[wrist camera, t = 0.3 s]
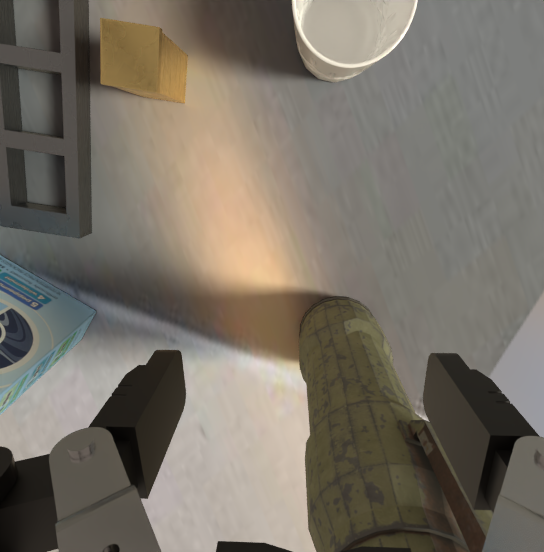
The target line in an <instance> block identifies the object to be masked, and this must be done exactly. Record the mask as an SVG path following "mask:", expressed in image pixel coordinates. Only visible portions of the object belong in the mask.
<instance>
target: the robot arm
mask: <svg viewBox="0 0 544 552" xmlns="http://www.w3.org/2000/svg"><path fill="white" fill-rule="evenodd" d="M185 399H186V389H185V380H184V371H183V362H182V355H181V352H180V351H179V350H156V351H155V352H154V353H153V355H152V357H151V358H150V360H149V361H148V363H147V364H146V365H138V366H137V367H136V368H134V369H133V370H131V371H130V372H129V373H127V374H126V375H125V377H124V378H123V379H122V381H121V382H120V384H119V385H118V388H116V389H115V391H114V392H113V393H112V397H110V398H109V399H108V400H107V402H106V403H105V405H104V406H103V407H102V409H101V410H100V412H99V413H98V414H97V416H96V417H95V419H94V420H93V421H92V423H91V424H90V426H89V427H88V428H84V429H81V430H78V431H75V432H73V433H71V434H69V435H67V436H66V437H64V438H63V439H62V440H60V441H59V442H58V443H57V444H56V445H55V446H54V448H53V449H52V451H51V453H50V454H47V455H43V456H39V457H34V458H30V459H25V460H21V461H16V462H15V461H14V458H13V455H12V452H11V451H10V450H9V449H8V448H5V447H0V552H47V551H51V550H54V549H59V552H161V550H160V547H159V545H158V542H157V539H156V537H155V534H154V532H153V529H152V527H151V524H150V522H149V519H148V517H147V514H146V512H145V509H144V507H143V504H142V501H141V499H140V498H145V499H148V496H149V494H150V491H151V489H152V486H153V484H154V481H155V479H156V477H157V474H158V472H159V469H160V467H161V464H162V462H163V459H164V457H165V454H166V452H167V449H168V447H169V444H170V442H171V439H172V437H173V434H174V432H175V429H176V427H177V424H178V422H179V419H180V417H181V414H182V412H183V409H184V406H185ZM423 404H424V409H425V413H426V415H427V417H428V419H429V421H430V423H431V425H432V427H433V429H434V431H435V433H436V435H437V437H438V439H439V441H440V443H441V445H442V447H443V449H444V451H445V453H446V455H447V457H448V459H449V461H450V463H451V465H452V467H453V469H454V471H455V473H456V475H457V477H458V479H459V481H460V483H461V485H462V487H463V489H464V491H465V493H466V495H467V497H468V499H469V501H470V503H471V505H472V507H473V509H474V510H492V512H493V516H492V520H491V523H490V526H489V530H488V533H487V537H486V540H485V543H484V547H483V550H482V552H544V438H543V437H540V436H539V435H538V434H537V433H536V432H535V430H534V429H533V428H532V427H531V426H530V425H529V423H528V422H527V421H526V420H525V419H524V417H523V416H522V415H521V414H520V413H519V412H518V410H517V409H516V408H515V407H514V406H513V405H512V404H510V401H509V400H508V399H507V397H506V396H505V395H504V394H502V393H501V390H500V389H499V388H498V387H497V386H496V384H495V383H494V382H493V381H492V380H491V379H490V378H488V377H487V376H485V375H483V374H482V373H480V372H479V371H477V370H470V369H469V367H468V366H467V365H466V364H465V362H464V361H463V360H462V359H461V357H460V356H459V355H458V354H456V353H431V354H430V356H429V358H428V364H427V371H426V378H425V385H424V392H423ZM216 552H292V551H289V550H285V549H282V548H279V547H276V546H273V545H269V544H266V543H253V542H225V541H218V544H217V549H216ZM341 552H411V548H394V547H366V546H362V547H358V548H354V549H350V550H346V551H341Z"/></svg>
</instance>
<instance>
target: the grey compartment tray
mask: <svg viewBox="0 0 544 552" xmlns="http://www.w3.org/2000/svg"><path fill="white" fill-rule="evenodd" d="M59 22H60V50H61V53H57V52H50V51H44V50H38V49H31V48H25V47H19V46H16V37H15V23H14V9H13V0H0V226H3V227H10V228H16V229H23V230H29V231H36V232H42V233H49V234H55V235H61V236H68V237H74V238H82V237H84V236H86V235H89V234H91V233H92V216H91V145H90V75H89V4H88V0H59ZM18 68H19V69H26V70H32V71H38V72H45V73H51V74H57V75H61V77H62V104H63V132H64V137H58V136H51V135H45V134H39V133H32V132H26V131H22V121H21V107H20V93H19V79H18ZM24 150H29V151H35V152H42V153H48V154H54V155H61V156H64V159H65V186H66V208H61V207H55V206H48V205H42V204H36V203H29V202H27V191H26V177H25V163H24Z"/></svg>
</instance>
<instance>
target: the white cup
mask: <svg viewBox="0 0 544 552" xmlns="http://www.w3.org/2000/svg"><path fill="white" fill-rule="evenodd" d="M417 1H418V0H292V11H293V21H294V30H295V36H296V42H297V46H298V51H299V53H300V56H301V58H302V60H303V63H304V65H305V67H306V68H307V69H308V70H309V71H310V72H311V73H312V74H313V75H315V76H316V77H317V78H318V79H321V80H325V81H330V82H334V83H336V82H339V81H343V80H346V79H350V78H352V77H354V76H356V75H358V74H360V73H361V72H363V71H364V70H366V69H368V68H369V67H370V66H372V65H373V64H374V63H376V62H377V61H378V60H380V59H381V58H383V57H384V56H386V55H387V54H388V53H389V52H390V51H392V50H393V49H394V48H395V47H396V45H397V44H398V43H399V42H400V41H401V39H402V38H403V36H404V35H405V33H406V32H407V30H408V28H409V26H410V24H411V22H412V19H413V17H414V14H415V10H416V6H417Z"/></svg>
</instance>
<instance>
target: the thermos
mask: <svg viewBox="0 0 544 552" xmlns="http://www.w3.org/2000/svg"><path fill="white" fill-rule="evenodd" d="M299 362H300V370H301V373H302V376H303V379H304V381H305V382H306V383H307V397H308V410H309V424H310V436H309V438H308V440H307V442H306V453H305V467H306V488H307V508H308V528H309V532H310V535H311V537H312V540H313V543H314V546H315V549H316V551H317V552H341V551H346V550H350V549H354V548H358V547H362V546H366V547H394V548H411V552H482V550H483V547H484V543H485V540H486V537H487V533H488V530H489V526H490V523H491V520H492V516H493V512H492V510H474V509H473V507H472V505H471V503H470V501H469V499H468V497H467V495H466V493H465V491H464V489H463V487H462V485H461V483H460V481H459V479H458V477H457V475H456V473H455V471H454V469H453V467H452V465H451V463H450V461H449V459H448V457H447V455H446V453H445V451H444V449H443V447H442V445H441V443H440V441H439V439H438V437H437V435H436V433H435V431H434V429H433V427H432V425H431V423H430V422H428V421H426V420H423V419H422V418H421V417H419V416H418V415H417V414H416V413H415V411H414V409H413V407H412V405H411V403H410V401H409V398H408V396H407V394H406V392H405V390H404V388H403V386H402V384H401V382H400V379H399V377H398V375H397V373H396V371H395V369H394V367H393V356H392V351H391V347H390V345H389V343H388V341H387V339H386V337H385V335H384V333H383V331H382V329H381V327H380V326H379V324H378V323H377V321H376V319H375V318H374V317H373V315H372V314H371V312H370V310H369V309H368V308H367V307H366V306H364V305H363V304H362V303H361V302H359V301H357V300H354V299H351V298H348V297H332V298H327V299H323V300H322V301H320V302H318V303H316V304H315V305H313V306H312V307H311V308H310V309H309V310H308V311H307V312H306V314H305V315H304V317H303V320H302V322H301V324H300V337H299Z"/></svg>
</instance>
